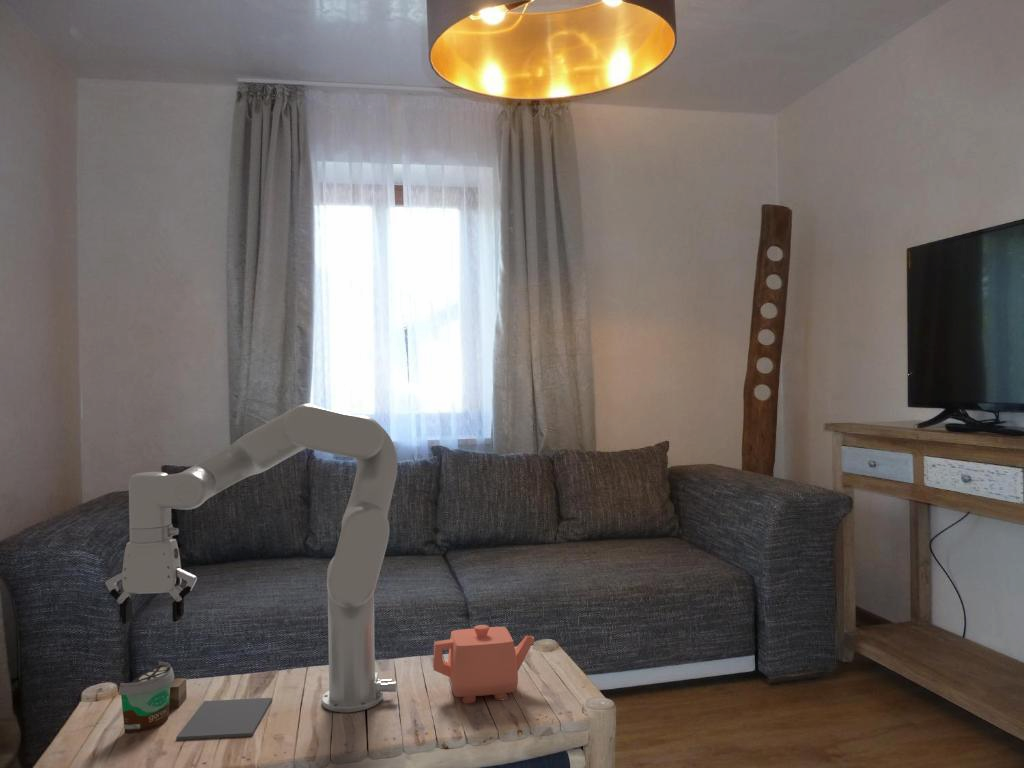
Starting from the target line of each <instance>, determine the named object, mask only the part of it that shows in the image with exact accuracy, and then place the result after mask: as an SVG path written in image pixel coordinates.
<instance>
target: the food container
mask: <svg viewBox="0 0 1024 768" xmlns="http://www.w3.org/2000/svg"><path fill="white" fill-rule="evenodd" d="M173 679H175V673H174V670H173V667H172V666H171V664H170V663H168V662H165V661H158V666H157V667H155V668H153V669H152V670H149V671H147V672H144V673H141V674H140V675H138V676H137V677H136V678H135V679H133V680H131V682H120V683H119V684H120V686H119V687H118V695H119V696H120V697H121V709H122V717H123V718H122V719H123V728H124V734H133V733H134V732H137V733H142V732H149V730H150V731H151V730H153V729H156V728H158V727H161V726H162V725H164V724H165V723H167V721H168V720H169V711H170V710H169V709H170V708H169V698H170V684H171V681H173ZM132 732H133V733H132ZM134 734H135V733H134Z"/></svg>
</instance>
